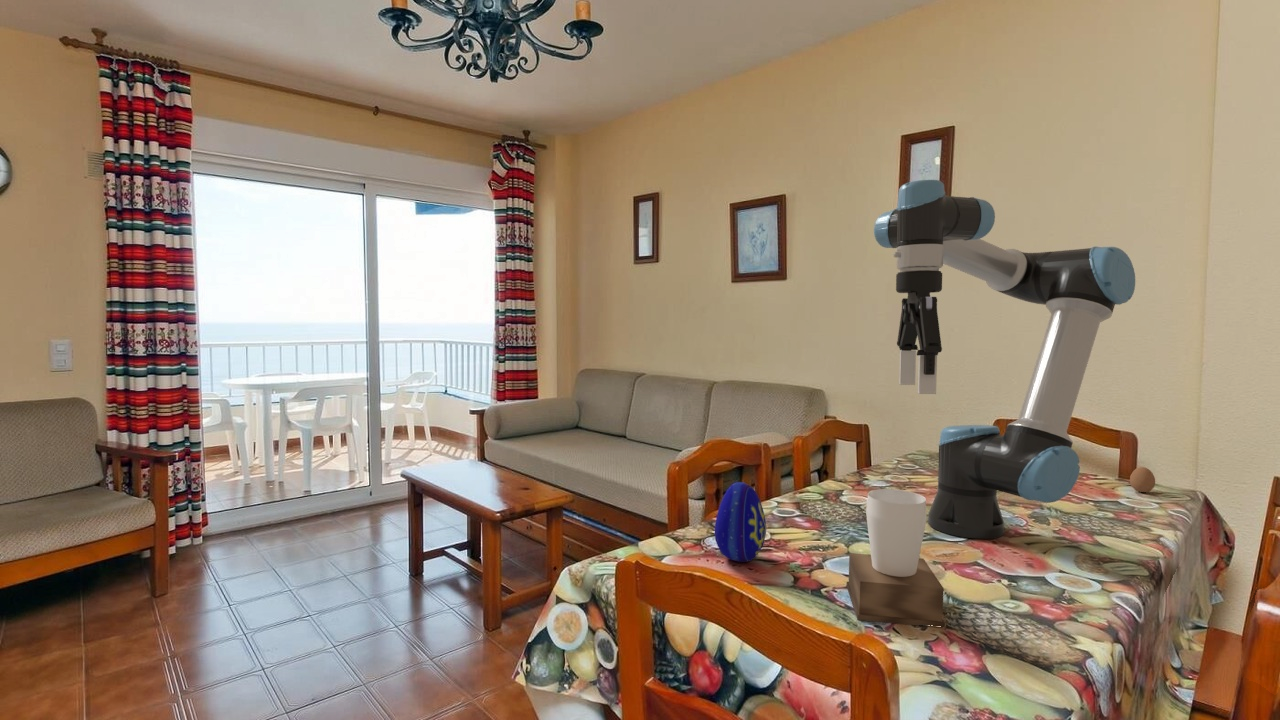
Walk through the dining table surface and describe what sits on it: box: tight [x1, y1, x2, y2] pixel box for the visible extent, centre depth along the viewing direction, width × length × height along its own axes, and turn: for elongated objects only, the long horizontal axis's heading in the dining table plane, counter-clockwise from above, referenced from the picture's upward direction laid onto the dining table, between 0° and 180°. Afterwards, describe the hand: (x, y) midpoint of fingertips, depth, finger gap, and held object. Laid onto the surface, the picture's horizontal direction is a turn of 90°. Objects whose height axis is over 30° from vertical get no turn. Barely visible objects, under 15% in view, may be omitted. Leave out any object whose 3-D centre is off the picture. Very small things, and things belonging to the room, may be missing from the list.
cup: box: [865, 488, 928, 577], centre depth 102 cm, size 9×9×12 cm
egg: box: [1129, 466, 1156, 493], centre depth 171 cm, size 5×5×7 cm
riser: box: [846, 552, 946, 628], centre depth 102 cm, size 13×13×6 cm
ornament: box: [714, 481, 767, 563], centre depth 121 cm, size 11×9×15 cm
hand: (916, 389), depth 114 cm, fingers open, 13 cm apart
